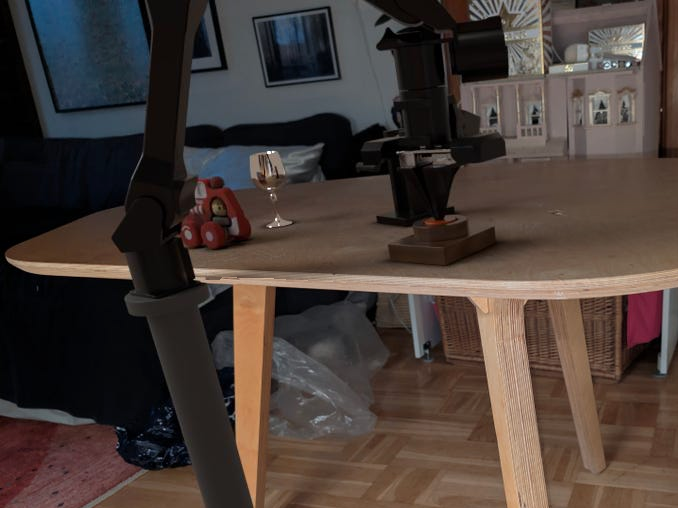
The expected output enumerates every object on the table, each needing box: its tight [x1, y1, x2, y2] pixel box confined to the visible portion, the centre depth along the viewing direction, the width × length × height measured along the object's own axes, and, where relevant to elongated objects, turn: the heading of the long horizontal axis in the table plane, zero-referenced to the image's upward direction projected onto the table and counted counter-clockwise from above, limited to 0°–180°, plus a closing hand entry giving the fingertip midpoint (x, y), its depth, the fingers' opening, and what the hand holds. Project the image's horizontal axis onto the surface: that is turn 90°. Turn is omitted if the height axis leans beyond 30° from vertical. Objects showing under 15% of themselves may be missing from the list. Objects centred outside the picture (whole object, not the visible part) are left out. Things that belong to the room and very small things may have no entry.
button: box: [425, 216, 456, 225], centre depth 89 cm, size 4×4×2 cm
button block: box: [387, 214, 497, 266], centre depth 90 cm, size 11×9×4 cm
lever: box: [355, 134, 399, 172], centre depth 108 cm, size 10×5×2 cm, turn 133°
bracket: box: [375, 127, 456, 228], centre depth 111 cm, size 10×8×14 cm
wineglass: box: [249, 150, 293, 228], centre depth 119 cm, size 6×6×12 cm
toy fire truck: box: [179, 175, 252, 250], centre depth 110 cm, size 7×12×10 cm, turn 60°
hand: (439, 219), depth 89 cm, fingers closed, pressing on button
